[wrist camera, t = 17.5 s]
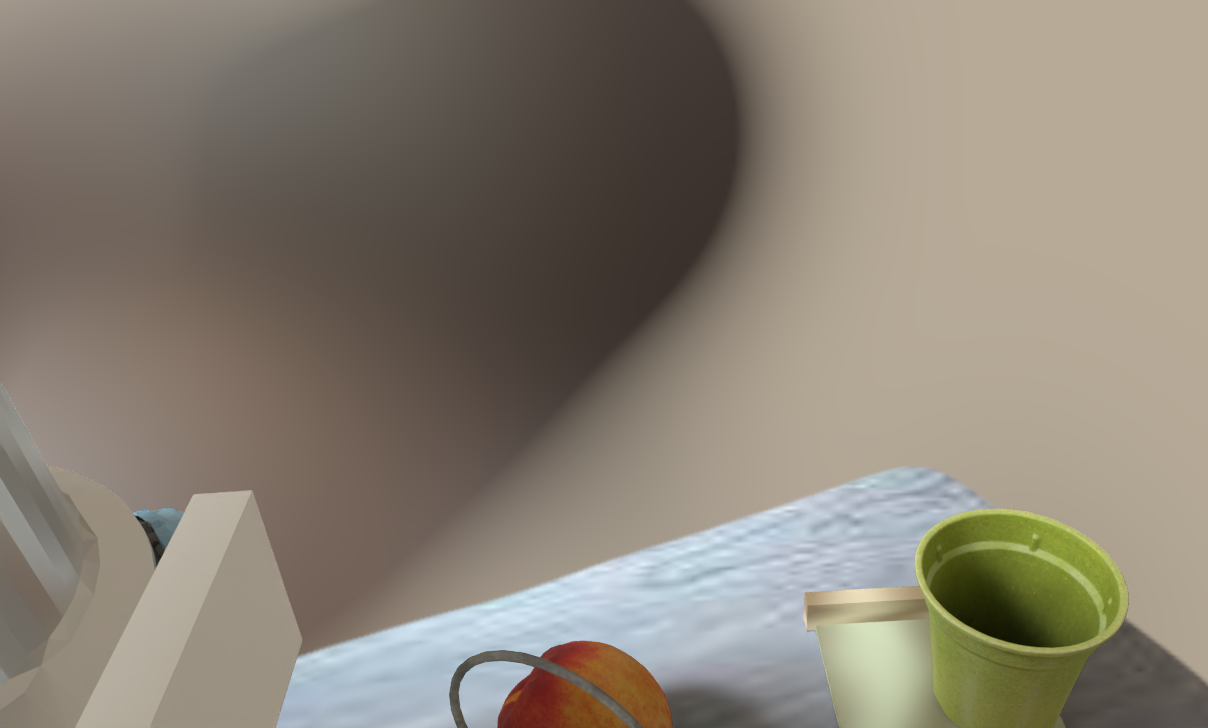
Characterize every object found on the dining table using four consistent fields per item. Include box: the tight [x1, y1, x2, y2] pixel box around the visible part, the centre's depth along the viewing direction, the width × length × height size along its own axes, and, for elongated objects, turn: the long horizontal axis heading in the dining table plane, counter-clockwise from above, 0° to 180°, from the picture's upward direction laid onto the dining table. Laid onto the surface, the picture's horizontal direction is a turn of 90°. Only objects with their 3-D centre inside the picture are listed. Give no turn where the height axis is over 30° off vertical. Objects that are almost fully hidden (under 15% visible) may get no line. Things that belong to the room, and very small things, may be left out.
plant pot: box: [915, 509, 1129, 728], centre depth 50 cm, size 9×9×9 cm
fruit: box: [498, 641, 673, 728], centre depth 48 cm, size 8×8×8 cm
